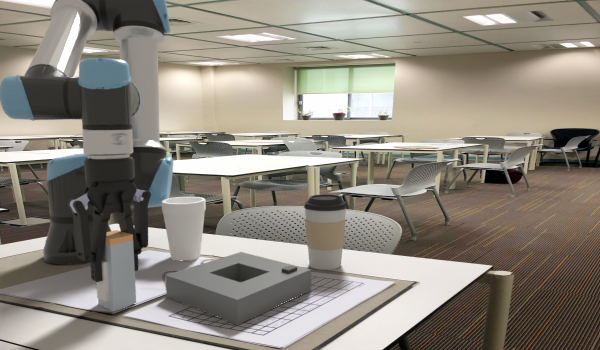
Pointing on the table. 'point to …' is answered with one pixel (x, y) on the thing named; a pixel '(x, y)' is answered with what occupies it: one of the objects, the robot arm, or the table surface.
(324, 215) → the coffee cup
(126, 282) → the plug peg
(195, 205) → the foam cup
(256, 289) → the socket block
